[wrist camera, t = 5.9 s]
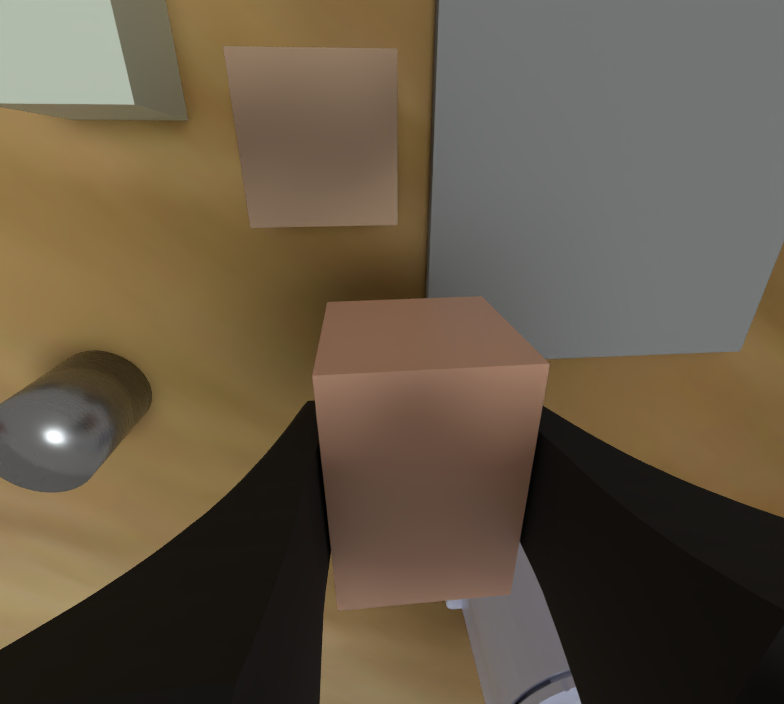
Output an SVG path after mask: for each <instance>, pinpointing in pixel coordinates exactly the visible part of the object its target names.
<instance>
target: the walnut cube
mask: <svg viewBox="0 0 784 704" xmlns="http://www.w3.org/2000/svg"><path fill="white" fill-rule="evenodd" d="M223 49H224V55H225V62H226V69H227V75H228V82H229V89H230V95H231V102H232V109H233V115H234V122H235V129H236V135H237V142H238V149H239V155H240V162H241V168H242V175H243V182H244V188H245V195H246V202H247V208H248V215H249V222H250V228H272V227H322V226H373V225H398V183H397V49H389V48H316V47H244V46H223Z"/></svg>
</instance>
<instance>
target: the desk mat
mask: <svg viewBox="0 0 784 704" xmlns="http://www.w3.org/2000/svg"><path fill="white" fill-rule="evenodd" d="M783 242H784V0H436V13H435V42H434V71H433V101H432V130H431V159H430V188H429V217H428V247H427V276H426V298H446V297H473V296H482V297H483V298H484V299H485V300H486V301H487V302H488V303H489V304H490V305H491V306H492V307H493V308H494V309H495V310H496V311H497V312H498V313H499V314H500V315H501V316H502V317H503V318H504V319H505V320H506V321H507V322H508V323H509V324H510V325H511V326H512V327H513V328H514V329H515V330H516V331H517V332H518V333H519V334H520V335H521V336H522V337H523V338H524V339H525V340H526V341H527V342H528V343H529V344H530V345H531V346H532V347H533V348H534V349H535V350H537V351H538V352H539V353H540V354H541V355H542V356H543V357H544V358H545V359H558V358H583V357H608V356H633V355H658V354H683V353H708V352H732V351H740V350H741V348H742V345H743V343H744V340H745V338H746V335H747V332H748V330H749V327H750V325H751V322H752V320H753V317H754V315H755V312H756V310H757V307H758V305H759V302H760V300H761V297H762V295H763V292H764V290H765V287H766V285H767V282H768V280H769V277H770V275H771V272H772V270H773V267H774V265H775V262H776V259H777V257H778V254H779V252H780V249H781V247H782V244H783Z"/></svg>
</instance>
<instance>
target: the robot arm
mask: <svg viewBox="0 0 784 704" xmlns="http://www.w3.org/2000/svg"><path fill="white" fill-rule="evenodd" d="M330 554H331V544H330V535H329V526H328V517H327V508H326V498H325V489H324V480H323V471H322V462H321V452H320V443H319V434H318V425H317V416H316V406H315V401H308V402H307V403H306V404H305V405H304V406H303V407H302V408H301V410H300V411H299V413H298V414H297V415H296V417H295V418H294V419H293V421H292V422H291V423H290V425H289V426H288V427H287V429H286V430H285V431H284V433H283V434H282V435H281V436H280V437H279V439H278V440H277V441H276V442H275V443H274V445H273V446H272V447H271V448H270V450H269V451H268V452H267V453H266V454H265V455H264V456H263V458H262V459H261V460H260V461H259V462H258V463H257V464H256V465H255V466H254V467H253V468H252V469H251V470H250V472H249V473H248V474H247V475H246V476H245V477H244V478H243V479H242V480H241V481H240V482H239V483H238V484H237V485H236V486H235V487H234V488H233V489H232V490H231V491H230V492H229V493H228V494H227V495H226V496H225V497H223V498H222V499H221V500H220V501H219V502H218V503H217V504H216V505H215V506H213V507H212V508H211V509H210V510H209V511H208V512H206V513H205V514H204V515H203V516H202V517H200V518H199V519H198V520H196V521H195V522H194V523H193V524H191V525H190V526H189V527H187V528H186V529H185V530H184V531H182V532H181V533H180V534H178V535H177V536H176V537H175V538H173V539H172V540H171V541H170V542H168V543H167V544H166V545H164V546H163V547H162V548H160V549H159V550H158V551H156V552H155V553H154V554H152V555H151V556H149V557H148V558H146V559H145V560H144V561H142V562H141V563H139V564H138V565H136V566H135V567H134V568H132V569H131V570H129V571H128V572H126V573H125V574H123V575H122V576H120V577H119V578H117V579H116V580H114V581H113V582H111V583H110V584H108V585H107V586H105V587H104V588H102V589H101V590H99V591H97V592H96V593H94V594H93V595H91V596H90V597H88V598H86V599H85V600H83V601H82V602H80V603H78V604H77V605H75V606H73V607H72V608H70V609H68V610H67V611H65V612H63V613H62V614H60V615H58V616H57V617H55V618H53V619H52V620H50V621H48V622H46V623H45V624H43V625H41V626H40V627H38V628H36V629H35V630H33V631H31V632H30V633H28V634H26V635H25V636H23V637H21V638H20V639H18V640H16V641H15V642H13V643H11V644H9V645H8V646H6V647H4V648H2V649H1V650H0V704H319V703H320V678H321V654H322V632H323V612H324V602H325V591H326V584H327V576H328V569H329V562H330ZM446 605H447V607H448V608H449V609H461V608H462V611H463V615H464V619H465V623H466V627H467V631H468V635H469V640H470V644H471V648H472V652H473V656H474V660H475V664H476V668H477V672H478V676H479V680H480V684H481V688H482V693H483V697H484V701H485V704H784V518H782V517H779V516H776V515H773V514H771V513H768V512H765V511H762V510H759V509H756V508H753V507H750V506H748V505H745V504H742V503H739V502H737V501H734V500H732V499H729V498H726V497H724V496H721V495H719V494H716V493H713V492H711V491H708V490H706V489H703V488H701V487H698V486H696V485H693V484H691V483H688V482H686V481H684V480H681V479H679V478H677V477H675V476H672V475H670V474H668V473H666V472H664V471H661V470H659V469H657V468H655V467H653V466H650V465H648V464H646V463H644V462H642V461H640V460H638V459H636V458H634V457H632V456H630V455H628V454H626V453H624V452H622V451H620V450H618V449H616V448H615V447H613V446H611V445H609V444H607V443H605V442H603V441H601V440H600V439H598V438H596V437H594V436H593V435H591V434H589V433H587V432H586V431H584V430H582V429H580V428H579V427H577V426H575V425H574V424H572V423H570V422H569V421H567V420H565V419H564V418H562V417H560V416H559V415H557V414H555V413H554V412H552V411H551V410H549V409H547V408H546V407H544V406H543V407H542V412H541V418H540V424H539V430H538V436H537V442H536V448H535V453H534V459H533V465H532V471H531V477H530V483H529V489H528V495H527V500H526V506H525V512H524V518H523V524H522V530H521V536H520V541H519V547H518V553H517V559H516V565H515V571H514V577H513V583H512V588H511V594H510V595H501V596H490V597H479V598H469V599H458V600H447V601H446Z"/></svg>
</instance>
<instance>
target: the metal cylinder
mask: <svg viewBox="0 0 784 704" xmlns="http://www.w3.org/2000/svg"><path fill="white" fill-rule="evenodd" d="M151 401H152V391H151V387H150V384H149V382H148V380H147V378H146V377H145V375H144V374H143V373H142V372H141V371H140V369H139V368H137V367H136V366H135V365H134V364H133V363H131V362H130V361H128V360H126V359H125V358H123V357H121V356H118V355H116V354H113V353H109V352H104V351H86V352H81V353H79V354H76V355H74V356H72V357H70V358H69V359H67V360H66V361H64V362H63V363H61V364H60V365H58V366H57V367H55V368H54V369H52V370H51V371H49V372H48V373H46V374H45V375H43V376H42V377H40V378H39V379H37V380H36V381H34V382H33V383H31V384H30V385H28V386H27V387H25V388H24V389H22V390H21V391H19V392H18V393H16V394H14V395H13V396H11V397H10V398H8V399H7V400H5V401H4V402H2V403H1V404H0V477H2V478H3V479H5V480H7V481H9V482H10V483H13V484H15V485H17V486H20V487H23V488H26V489H29V490H33V491H39V492H64V491H68V490H72V489H75V488H77V487H79V486H81V485H83V484H84V483H86V482H87V481H88V480H89V479H90V478H91V477H92V475H93V474H94V473H95V472H96V471H97V470H98V468H99V467H100V466H101V465H102V464H103V463H104V461H105V460H106V459H107V458H108V457H109V456H110V454H111V453H112V452H113V451H114V450H115V449H116V447H117V446H118V445H119V444H120V443H121V442H122V440H123V439H124V438H125V437H126V436H127V435H128V433H129V432H130V431H131V430H132V429H133V428H134V426H135V425H136V424H137V423H138V422H139V421H140V419H141V418H142V417H143V416H144V415H145V414H146V412H147V411H148V409H149V407H150V405H151Z"/></svg>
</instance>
